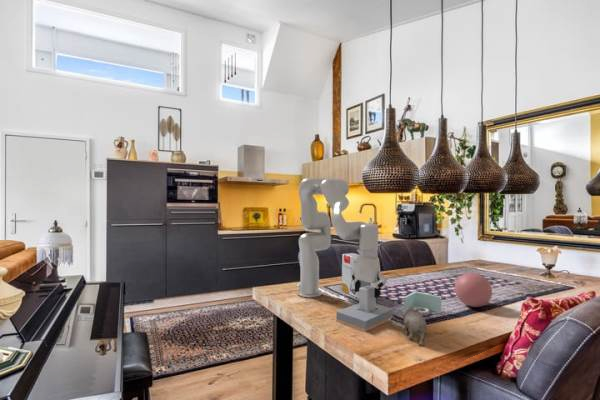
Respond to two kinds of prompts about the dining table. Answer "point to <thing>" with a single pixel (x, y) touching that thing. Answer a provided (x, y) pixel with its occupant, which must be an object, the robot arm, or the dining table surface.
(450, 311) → the dining table surface
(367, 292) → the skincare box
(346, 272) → the hard drive box
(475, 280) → the dusty rose ball
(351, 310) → the pocket block
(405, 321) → the elephant figurine
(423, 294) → the right angle wall
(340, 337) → the dining table surface
